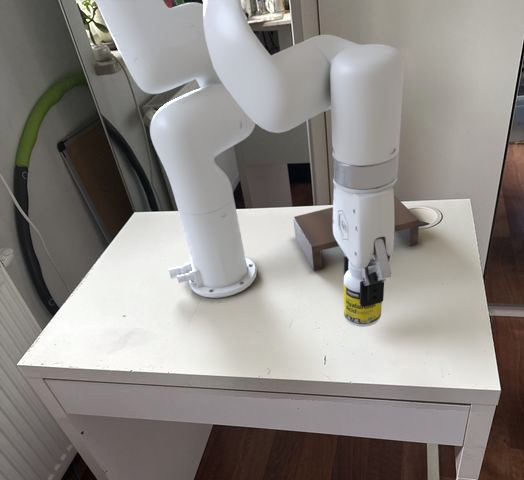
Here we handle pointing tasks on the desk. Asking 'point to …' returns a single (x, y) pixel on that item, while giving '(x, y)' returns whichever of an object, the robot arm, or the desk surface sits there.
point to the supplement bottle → (358, 299)
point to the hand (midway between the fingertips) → (363, 289)
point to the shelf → (321, 234)
